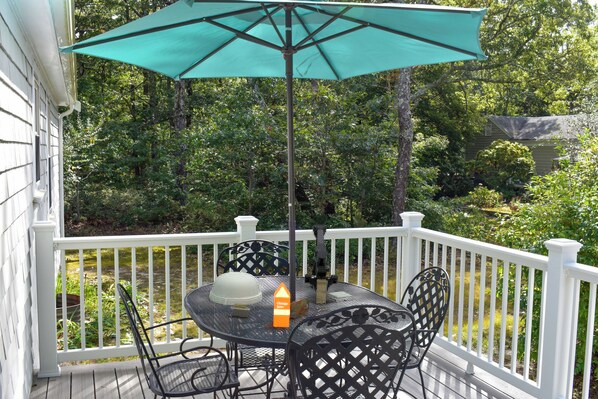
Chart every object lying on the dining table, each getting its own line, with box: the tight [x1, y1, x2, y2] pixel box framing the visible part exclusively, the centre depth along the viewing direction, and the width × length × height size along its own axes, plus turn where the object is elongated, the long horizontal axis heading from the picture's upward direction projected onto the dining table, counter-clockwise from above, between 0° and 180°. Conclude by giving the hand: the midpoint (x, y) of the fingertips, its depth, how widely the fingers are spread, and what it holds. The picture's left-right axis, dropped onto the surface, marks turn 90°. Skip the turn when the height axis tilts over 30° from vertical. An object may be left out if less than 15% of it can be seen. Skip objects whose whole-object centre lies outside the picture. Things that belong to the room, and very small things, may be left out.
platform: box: [230, 303, 251, 318], centre depth 286 cm, size 12×18×7 cm, turn 77°
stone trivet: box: [328, 290, 353, 299], centre depth 326 cm, size 10×10×3 cm
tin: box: [289, 298, 310, 319], centre depth 290 cm, size 15×3×8 cm, turn 143°
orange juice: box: [273, 282, 291, 328], centre depth 275 cm, size 8×9×20 cm
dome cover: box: [208, 271, 263, 306], centre depth 319 cm, size 32×30×14 cm
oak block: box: [315, 279, 327, 304], centre depth 315 cm, size 5×5×13 cm
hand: (321, 291), depth 314 cm, fingers open, 6 cm apart
